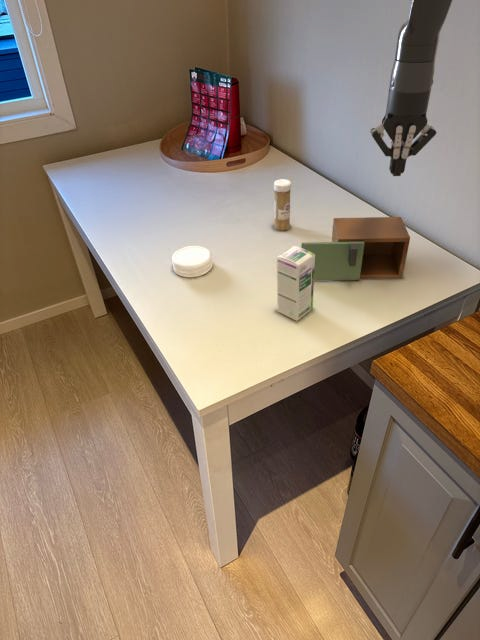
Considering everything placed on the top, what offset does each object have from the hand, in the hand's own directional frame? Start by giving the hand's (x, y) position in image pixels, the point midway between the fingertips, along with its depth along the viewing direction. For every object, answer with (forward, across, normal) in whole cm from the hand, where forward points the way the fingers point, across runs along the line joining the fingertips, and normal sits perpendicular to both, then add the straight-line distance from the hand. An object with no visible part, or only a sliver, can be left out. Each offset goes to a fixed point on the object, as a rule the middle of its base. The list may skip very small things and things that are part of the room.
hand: (395, 174), depth 101 cm
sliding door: (+25, +12, +4) cm, 28 cm away
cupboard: (+25, +3, -3) cm, 25 cm away
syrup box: (+25, +21, +14) cm, 36 cm away
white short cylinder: (+25, +46, -4) cm, 53 cm away
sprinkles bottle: (+25, +23, -24) cm, 42 cm away
